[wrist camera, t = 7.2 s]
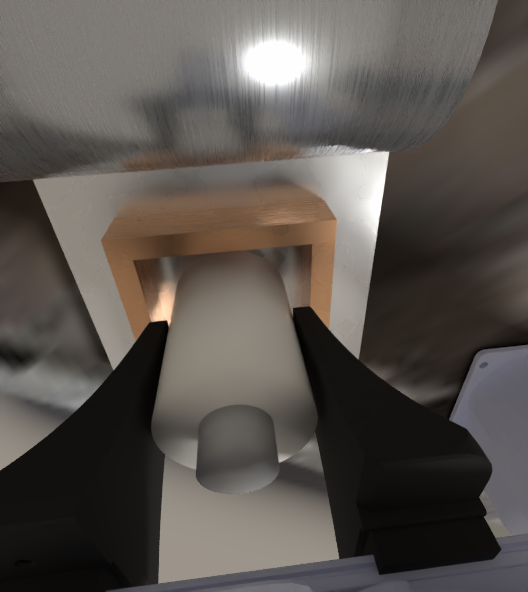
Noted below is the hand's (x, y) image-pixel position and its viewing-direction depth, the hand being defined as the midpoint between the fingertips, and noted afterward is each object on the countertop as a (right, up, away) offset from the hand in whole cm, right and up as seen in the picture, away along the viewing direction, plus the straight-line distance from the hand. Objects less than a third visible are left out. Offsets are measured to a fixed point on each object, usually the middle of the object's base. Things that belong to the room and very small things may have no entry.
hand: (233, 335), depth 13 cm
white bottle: (0, +1, +1) cm, 2 cm away
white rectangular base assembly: (-1, +5, +2) cm, 5 cm away
